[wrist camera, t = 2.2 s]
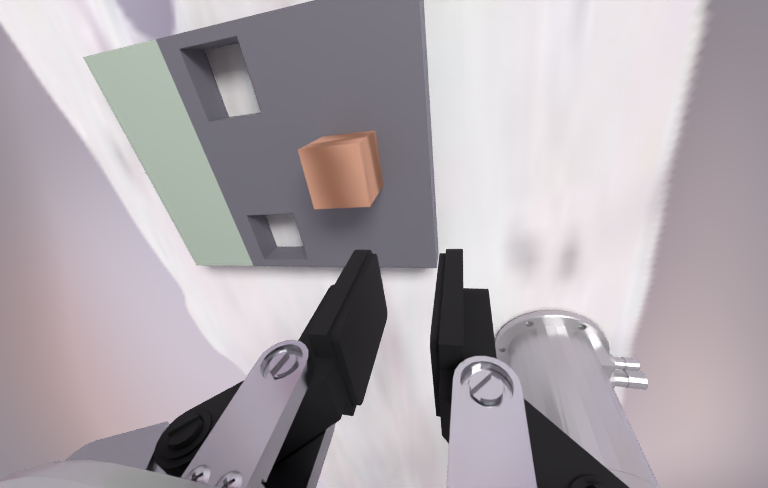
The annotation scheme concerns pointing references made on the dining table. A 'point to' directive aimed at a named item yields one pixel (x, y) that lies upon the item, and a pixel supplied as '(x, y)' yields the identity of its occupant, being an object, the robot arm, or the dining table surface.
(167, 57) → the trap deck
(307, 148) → the terracotta block
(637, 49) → the dining table surface
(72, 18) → the dining table surface
